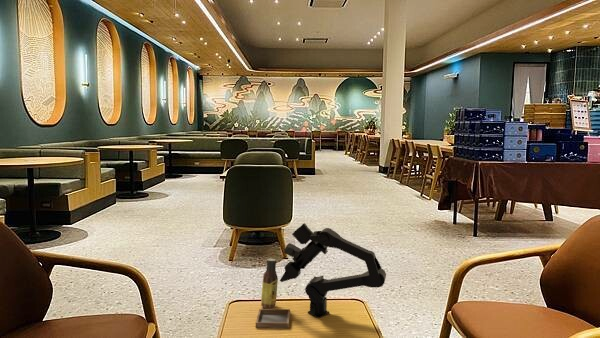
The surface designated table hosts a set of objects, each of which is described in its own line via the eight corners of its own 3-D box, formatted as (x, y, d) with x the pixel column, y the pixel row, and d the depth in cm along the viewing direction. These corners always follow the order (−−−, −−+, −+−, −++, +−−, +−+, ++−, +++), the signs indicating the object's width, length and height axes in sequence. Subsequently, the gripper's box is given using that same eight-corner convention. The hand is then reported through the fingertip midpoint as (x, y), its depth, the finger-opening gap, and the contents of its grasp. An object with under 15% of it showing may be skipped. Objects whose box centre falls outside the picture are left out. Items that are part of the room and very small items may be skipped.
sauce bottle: (273, 310, 185) (276, 262, 184) (259, 307, 187) (262, 260, 185) (277, 304, 192) (280, 258, 190) (263, 302, 193) (266, 256, 191)
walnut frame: (259, 313, 182) (259, 309, 182) (290, 313, 182) (290, 309, 182) (255, 327, 170) (255, 322, 170) (288, 328, 170) (288, 323, 170)
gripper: (301, 232, 191) (277, 256, 195) (288, 244, 173) (262, 270, 177) (320, 251, 189) (295, 275, 194) (309, 265, 172) (282, 291, 176)
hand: (284, 277), depth 185 cm, fingers open, 9 cm apart
